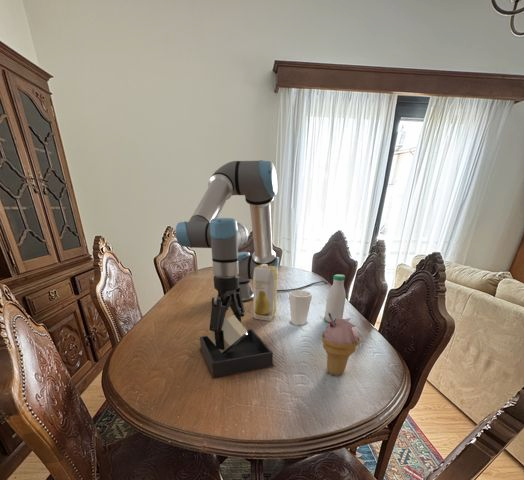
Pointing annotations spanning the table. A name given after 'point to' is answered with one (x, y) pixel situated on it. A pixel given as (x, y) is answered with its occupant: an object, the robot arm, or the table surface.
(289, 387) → the table surface
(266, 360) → the tray
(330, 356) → the ice cream cone
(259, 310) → the juice carton
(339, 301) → the milk bottle
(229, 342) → the pot
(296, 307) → the foam cup
